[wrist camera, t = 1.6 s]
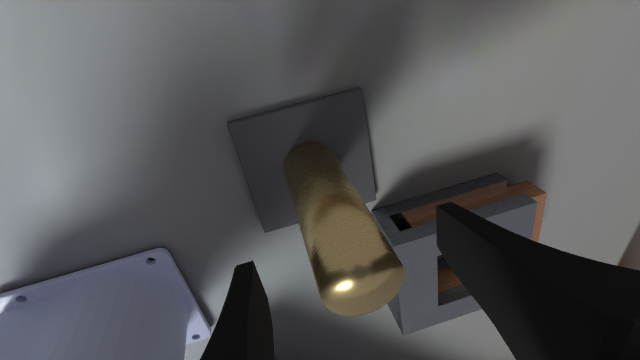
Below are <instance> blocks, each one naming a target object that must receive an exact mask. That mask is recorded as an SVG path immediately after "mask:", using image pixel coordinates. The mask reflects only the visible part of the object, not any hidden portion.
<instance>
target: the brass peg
mask: <svg viewBox="0 0 640 360" xmlns="http://www.w3.org/2000/svg"><path fill="white" fill-rule="evenodd" d="M283 173H284V176H285V180H286V183H287V186H288V190H289V193H290V196H291V200H292V203H293V206H294V210H295V213H296V216H297V220H298V223H299V226H300V230H301V233H302V237H303V240H304V243H305V247H306V250H307V253H308V257H309V260H310V263H311V267H312V270H313V273H314V277H315V280H316V283H317V287H318V290H319V293H320V297H321V300H322V302H323V304H324V305H325V307H326V308H327V309H329V310H330V311H331V312H333V313H336V314H338V315H342V316H359V315H364V314H367V313H370V312H373V311H375V310H377V309H379V308H381V307H383V306H384V305H385V304H387V303H388V302H389V301H390V300H392V299H393V298H394V296H395V295H396V294H397V293H398V291H399V290H400V288H401V286H402V284H403V281H404V268H403V265H402V263H401V262H400V260H399V258H398V257H397V255H396V253H395V252H394V250H393V249H392V247H391V245H390V244H389V242H388V240H387V239H386V237H385V236H384V234H383V232H382V231H381V229H380V227H379V226H378V224H377V223H376V221H375V219H374V218H373V216H372V214H371V213H370V211H369V210H368V208H367V206H366V205H365V203H364V201H363V200H362V198H361V197H360V195H359V193H358V192H357V190H356V188H355V187H354V185H353V183H352V182H351V180H350V179H349V177H348V175H347V174H346V172H345V170H344V169H343V167H342V166H341V164H340V162H339V161H338V159H337V157H336V156H335V154H334V153H333V151H332V150H331V149H330V148H329V147H328V146H327V145H325V144H323V143H321V142H316V141H308V142H304V143H301V144H299V145H297V146H295V147H294V148H293V149H291V151H290V152H289V153H288V154H287V156H286V158H285V160H284V163H283Z"/></svg>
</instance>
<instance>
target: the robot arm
mask: <svg viewBox="0 0 640 360" xmlns="http://www.w3.org/2000/svg"><path fill="white" fill-rule="evenodd" d="M436 233H437V247H438V249H439V250H440V252H441V254H442V256H443V257H444V259H445V261H446V262H447V264H448V265H449V267H450V268H451V270H452V271H453V272H454V274H455V275H456V276H457V278H458V279H459V280H460V281H461V283H462V284H463V285H464V286H465V288H466V289H467V290H468V291H469V293H470V294H471V295H472V297H473V298H474V299H475V300H476V302H477V303H478V304H479V305H480V307H481V308H482V309H483V310H484V312H485V313H486V314H487V316H488V317H489V318H490V320H491V321H492V322H493V324H494V325H495V327H496V328H497V330H498V332H499V333H500V335H501V336H502V338H503V339H504V341H505V342H506V344H507V346H508V347H509V349H510V350H511V352H512V354H513V355H514V357H515V359H516V360H640V271H639V270H634V269H629V268H625V267H620V266H616V265H611V264H607V263H603V262H599V261H595V260H591V259H588V258H584V257H581V256H577V255H573V254H570V253H567V252H564V251H561V250H558V249H555V248H552V247H549V246H546V245H544V244H541V243H538V242H536V241H533V240H530V239H528V238H526V237H523V236H521V235H519V234H516V233H514V232H512V231H509V230H507V229H505V228H503V227H501V226H499V225H497V224H494V223H492V222H490V221H488V220H486V219H484V218H482V217H480V216H478V215H476V214H474V213H472V212H471V211H469V210H467V209H465V208H463V207H461V206H459V205H457V204H455V203H453V202H448V203H444V204H441V205H438V206H436ZM148 258H154V259H155V260H149V259H148ZM22 296H25V297H22ZM194 334H197V335H194ZM210 335H211V327H210V326H209V324H208V322H207V320H206V318H205V316H204V315H203V313H202V311H201V309H200V307H199V305H198V304H197V302H196V300H195V298H194V296H193V295H192V293H191V291H190V289H189V287H188V285H187V284H186V282H185V280H184V278H183V276H182V274H181V273H180V271H179V269H178V267H177V265H176V264H175V262H174V260H173V258H172V256H171V254H170V253H169V251H168V250H166V249H164V248H156V249H153V250H149V251H146V252H142V253H139V254H135V255H132V256H128V257H125V258H122V259H118V260H115V261H111V262H108V263H104V264H101V265H97V266H94V267H91V268H87V269H84V270H80V271H77V272H73V273H70V274H67V275H63V276H60V277H56V278H53V279H49V280H46V281H42V282H39V283H36V284H32V285H29V286H25V287H22V288H18V289H15V290H11V291H8V292H5V293H1V294H0V360H184V355H185V346H186V345H188V344H191V343H194V342H197V341H200V340H203V339H206V338H208V337H209V336H210ZM200 360H275V358H274V343H273V328H272V320H271V314H270V308H269V303H268V298H267V295H266V293H265V290H264V288H263V285H262V282H261V280H260V277H259V275H258V272H257V270H256V267H255V265H254V262H253V261H250V262H247V263H244V264H240V265H237V266H236V267H235V269H234V273H233V277H232V281H231V284H230V288H229V291H228V294H227V297H226V300H225V303H224V306H223V308H222V311H221V314H220V316H219V319H218V321H217V324H216V326H215V329H214V331H213V333H212V336H211V338H210V340H209V342H208V344H207V347H206V349H205V351H204V353H203V355H202V357H201V359H200Z"/></svg>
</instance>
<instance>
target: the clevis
mask: <svg viewBox="0 0 640 360" xmlns="http://www.w3.org/2000/svg"><path fill="white" fill-rule="evenodd" d="M545 199H546V192H544V191H543V190H541V189H540V188H538V187H537V186H535V185H534V184H532V183H531V182H529V181H524V182H521V183H518V184H515V185H511V186H508V187H507V180H506V179H505V178H504V177H502V176H501V175H499V174H498V173H496V174H492V175H489V176H486V177H482V178H479V179H476V180H472V181H469V182H466V183H462V184H459V185H456V186H452V187H449V188H445V189H442V190H439V191H435V192H432V193H429V194H425V195H422V196H419V197H415V198H412V199H409V200H405V201H402V202H398V203H395V204H392V205H388V206H385V207H382V208H378V209H375V210H372V211H371V212H372V216H373V218H374V219H375V221H376V223H377V224H378V226H379V227H380V229H381V231H382V232H383V234H384V236H385V237H386V239H387V240H388V242H389V244H390V245H391V247H392V249H393V250H394V252H395V253H396V255H397V257H398V258H399V260H400V262H401V263H402V265H403V268H404V281H403V284H402V286H401V288H400V290H399V291H398V293H397V294H396V295H395V296H394V298H393V299H392V300H390V301H389V302H388V303H387V304H388V306H389V308H390V310H391V312H392V314H393V316H394V318H395V320H396V322H397V324H398V326H399V328H400V330H401V332H402V334H403V335H406V334H409V333H412V332H415V331H418V330H421V329H424V328H427V327H430V326H433V325H436V324H439V323H442V322H445V321H448V320H451V319H454V318H457V317H460V316H463V315H465V314H468V313H471V312H474V311H477V310H480V309H482V308H481V307H480V305H479V304H478V303H477V302H476V300H475V299H474V298H473V297H472V295H471V294H470V293H469V291H468V290H467V289H466V288H465V286H464V285H463V284H462V283H461V281H460V280H459V279H458V278H457V276H456V275H455V274H454V272H453V271H452V270H451V268H450V267H449V265H448V264H447V262H446V261H445V259H441V260H438V261H437V256H439V255H442V254H441V252H440V250H439V249H438V247H437V233H436V206H438V205H441V204H444V203H448V202H453V203H455V204H457V205H459V206H461V207H463V208H465V209H467V210H469V211H471V212H472V213H474V214H476V215H478V216H480V217H482V218H484V219H486V220H488V221H490V222H492V223H494V224H497V225H499V226H501V227H503V228H505V229H507V230H509V231H512V232H514V233H516V234H519V235H521V236H523V237H526V238H528V239H530V240H533V241H536V242H538V239H539V234H540V228H541V222H542V216H543V211H544V205H545Z"/></svg>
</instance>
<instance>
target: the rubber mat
mask: <svg viewBox="0 0 640 360" xmlns="http://www.w3.org/2000/svg"><path fill="white" fill-rule="evenodd" d="M228 127H229V130H230V133H231V136H232V139H233V142H234V145H235V148H236V151H237V153H238V156H239V159H240V162H241V165H242V168H243V171H244V174H245V177H246V179H247V182H248V185H249V188H250V191H251V194H252V197H253V200H254V202H255V205H256V208H257V211H258V214H259V217H260V220H261V223H262V226H263V228H264V231H265V233H266V232H269V231H273V230H276V229H280V228H283V227H286V226H290V225H293V224H296V223H298V220H297V216H296V213H295V210H294V206H293V203H292V200H291V196H290V193H289V190H288V186H287V183H286V180H285V176H284V173H283V163H284V160H285V158H286V156H287V154H288V153H289V152H290V151H291V149H293V148H294V147H295V146H297V145H299V144H301V143H304V142H308V141H316V142H321V143H323V144H325V145H327V146H328V147H329V148H330V149H331V150H332V151H333V153H334V154H335V156H336V157H337V159H338V161H339V162H340V164H341V166H342V167H343V169H344V170H345V172H346V174H347V175H348V177H349V179H350V180H351V182H352V183H353V185H354V187H355V188H356V190H357V192H358V193H359V195H360V197H361V198H362V200H363V201H364V203H368V202H371V201H374V200H376V193H375V185H374V177H373V170H372V162H371V154H370V146H369V138H368V130H367V123H366V115H365V107H364V99H363V91H362V89H361V88H356V89H352V90H348V91H344V92H340V93H337V94H333V95H329V96H325V97H321V98H318V99H314V100H310V101H306V102H302V103H298V104H295V105H291V106H287V107H283V108H279V109H275V110H272V111H268V112H264V113H260V114H256V115H252V116H249V117H245V118H241V119H237V120H233V121H230V122H228Z"/></svg>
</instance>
